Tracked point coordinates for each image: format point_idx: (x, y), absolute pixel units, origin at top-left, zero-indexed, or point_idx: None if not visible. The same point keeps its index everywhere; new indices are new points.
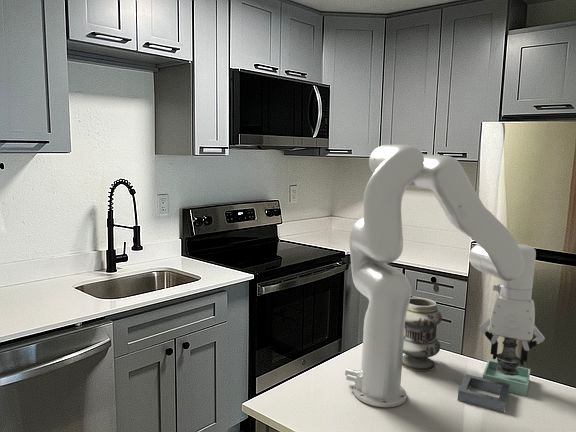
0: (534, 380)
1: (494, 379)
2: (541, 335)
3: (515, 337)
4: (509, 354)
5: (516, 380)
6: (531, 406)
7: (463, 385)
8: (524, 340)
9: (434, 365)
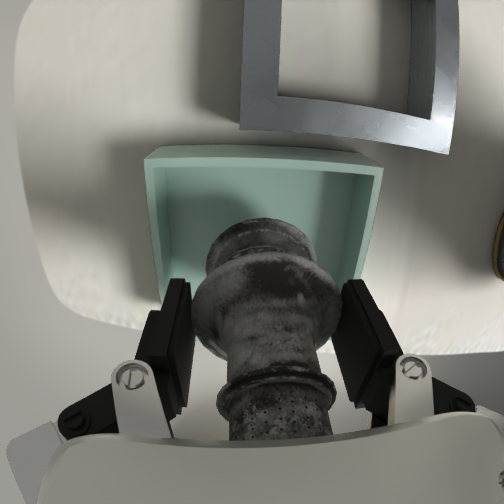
0: None
1: (321, 157)
2: (18, 481)
3: (233, 461)
4: (267, 318)
5: None
6: (135, 60)
7: (450, 22)
8: (123, 437)
9: (497, 238)
